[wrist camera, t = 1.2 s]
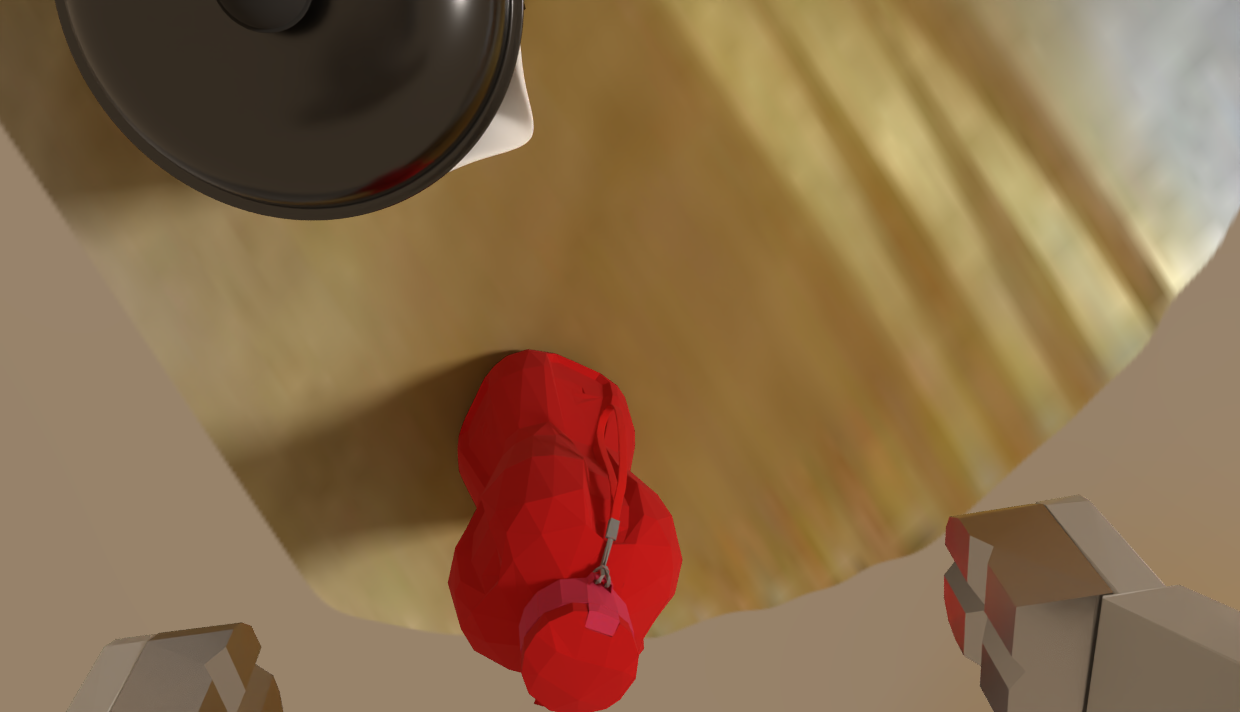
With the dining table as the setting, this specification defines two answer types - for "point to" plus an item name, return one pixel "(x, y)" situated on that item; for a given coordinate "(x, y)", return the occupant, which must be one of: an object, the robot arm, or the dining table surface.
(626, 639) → the water bottle
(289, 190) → the coffee press
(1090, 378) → the dining table surface
